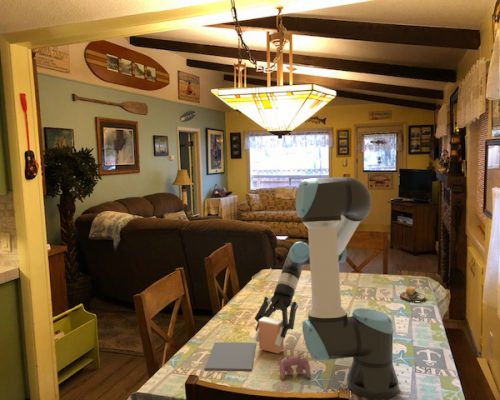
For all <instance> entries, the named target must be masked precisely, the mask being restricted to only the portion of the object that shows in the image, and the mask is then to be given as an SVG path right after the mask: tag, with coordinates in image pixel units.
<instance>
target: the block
mask: <svg viewBox="0 0 500 400" xmlns="http://www.w3.org/2000/svg"><path fill="white" fill-rule="evenodd" d="M281 327H283V319H278V318H272V317H263V318H261V319H260V320H259V342H258V345H259V346H258V347H259V348H258V349H259V350H261V351H267V352H270V353H274V354H280V353H281V352H282V351H283V350H284V348H285V347H284V338H282V341H281V344H280V347H277V345H276V344H275V342H276V339H277V336H278V334H279V331H280V328H281Z"/></svg>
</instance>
